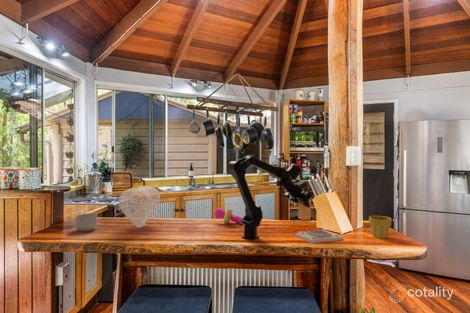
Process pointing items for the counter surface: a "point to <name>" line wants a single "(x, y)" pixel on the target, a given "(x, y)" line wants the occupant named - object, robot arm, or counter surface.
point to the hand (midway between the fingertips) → (306, 206)
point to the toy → (227, 216)
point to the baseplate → (318, 236)
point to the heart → (130, 216)
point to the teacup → (86, 221)
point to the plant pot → (379, 226)
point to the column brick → (304, 211)
